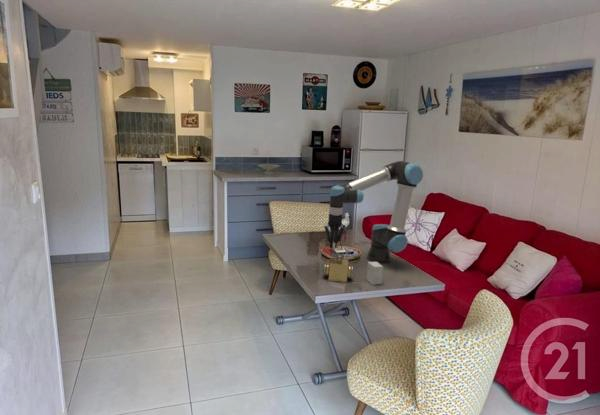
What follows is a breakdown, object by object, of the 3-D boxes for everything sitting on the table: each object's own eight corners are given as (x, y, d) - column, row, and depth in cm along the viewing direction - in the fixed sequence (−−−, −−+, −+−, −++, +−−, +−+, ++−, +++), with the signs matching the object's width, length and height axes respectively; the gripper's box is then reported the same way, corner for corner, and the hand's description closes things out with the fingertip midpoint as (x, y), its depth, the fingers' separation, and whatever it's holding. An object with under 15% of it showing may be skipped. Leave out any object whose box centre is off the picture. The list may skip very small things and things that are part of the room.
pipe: (351, 276, 235) (353, 263, 233) (352, 281, 228) (353, 268, 226) (323, 273, 236) (324, 260, 235) (323, 278, 229) (324, 265, 227)
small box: (381, 284, 228) (383, 266, 225) (372, 285, 226) (374, 266, 224) (374, 278, 235) (376, 261, 233) (365, 279, 233) (367, 261, 231)
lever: (344, 260, 229) (345, 255, 228) (338, 261, 227) (338, 256, 226) (327, 250, 243) (328, 246, 242) (321, 251, 241) (321, 247, 240)
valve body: (350, 276, 236) (351, 257, 234) (350, 282, 227) (352, 263, 225) (325, 274, 237) (327, 255, 235) (324, 280, 228) (326, 260, 226)
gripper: (343, 211, 239) (340, 250, 245) (322, 212, 235) (319, 251, 241) (348, 215, 233) (345, 254, 238) (327, 215, 228) (324, 256, 234)
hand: (332, 253), depth 240 cm, fingers closed
